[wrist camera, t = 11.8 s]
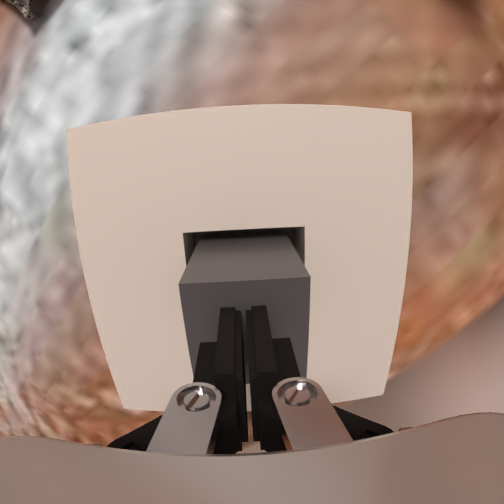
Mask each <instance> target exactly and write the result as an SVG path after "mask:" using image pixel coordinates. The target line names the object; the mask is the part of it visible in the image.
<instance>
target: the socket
mask: <svg viewBox="0 0 504 504" xmlns="http://www.w3.org/2000/svg"><path fill="white" fill-rule="evenodd" d="M67 150H68V165H69V177H70V188H71V197H72V205H73V213H74V220H75V227H76V233H77V239H78V245H79V251H80V256H81V262H82V267H83V272H84V276H85V281H86V285H87V290H88V294H89V298H90V303H91V307H92V311H93V314H94V318H95V322H96V326H97V329H98V333H99V336H100V340H101V343H102V346H103V350H104V353H105V356H106V359H107V362H108V365H109V368H110V371H111V374H112V377H113V380H114V383H115V386H116V389H117V391H118V394H119V397H120V399H121V402H122V405H123V407H124V409H135V410H149V411H165V409H166V407H167V405H168V403H169V401H170V399H171V397H172V395H173V393H174V392H175V391H176V390H177V389H178V388H180V387H181V386H184V385H186V384H190V383H193V378H194V377H193V372H192V366H191V361H190V355H189V349H188V344H187V338H186V332H185V325H184V319H183V312H182V306H181V299H180V292H179V285H178V284H179V281H180V279H181V277H182V275H183V273H184V271H185V268H186V266H187V264H188V262H189V260H190V258H191V256H192V254H193V252H194V249H195V247H196V245H197V243H198V241H199V239H200V237H201V235H214V234H231V233H250V232H270V231H285V233H286V234H287V236H288V238H289V239H290V241H291V243H292V245H293V246H294V248H295V250H296V252H297V253H298V255H299V257H300V259H301V260H302V262H303V264H304V266H305V268H306V269H307V271H308V273H309V275H310V276H311V283H310V317H309V341H308V360H307V377H306V378H308V379H311V380H313V381H315V382H317V383H318V384H319V385H320V386H321V387H322V389H323V391H324V392H325V394H326V396H327V397H328V399H329V401H330V402H331V403H338V402H344V401H350V400H356V399H362V398H367V397H373V396H378V395H383V393H384V389H385V385H386V381H387V377H388V373H389V369H390V364H391V360H392V355H393V350H394V345H395V340H396V335H397V330H398V324H399V318H400V312H401V306H402V300H403V293H404V285H405V278H406V269H407V260H408V250H409V239H410V226H411V209H412V179H413V150H412V120H411V112H404V111H396V110H387V109H378V108H366V107H354V106H337V105H312V104H262V105H236V106H220V107H206V108H195V109H185V110H176V111H168V112H160V113H153V114H146V115H139V116H133V117H127V118H121V119H115V120H110V121H105V122H100V123H95V124H90V125H85V126H81V127H76V128H72V129H68V130H67ZM246 401H247V411H251V396H250V384H246Z"/></svg>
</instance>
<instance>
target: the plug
mask: <svg viewBox="0 0 504 504" xmlns="http://www.w3.org/2000/svg"><path fill="white" fill-rule="evenodd" d="M310 283H311V276H310V275H309V273H308V271H307V269H306V268H305V266H304V264H303V262H302V260H301V259H300V257H299V255H298V253H297V252H296V250H295V248H294V246H293V245H292V243H291V241H290V239H289V238H288V236H287V234H286V233H285V231H270V232H250V233H231V234H214V235H201V237H200V239H199V241H198V243H197V245H196V247H195V249H194V252H193V254H192V256H191V258H190V260H189V262H188V264H187V266H186V268H185V271H184V273H183V275H182V277H181V279H180V281H179V284H178V285H179V292H180V299H181V306H182V312H183V319H184V325H185V332H186V338H187V344H188V349H189V355H190V361H191V366H192V372H193V377H194V372H195V367H196V361H197V356H198V350H199V345H200V342H217V333H218V324H219V314H220V308H224V307H235V311H241V318H242V333H243V347H244V361H245V376H246V384H250V381H249V364H248V345H247V326H246V310H251V306H262V305H266V308H267V314H268V319H269V325H270V330H271V336H272V339H275V338H288V337H289V338H290V340H291V343H292V347H293V351H294V354H295V358H296V361H297V365H298V369H299V372H300V376H301V377H302V378H306V377H307V360H308V341H309V317H310Z"/></svg>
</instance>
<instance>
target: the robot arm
mask: <svg viewBox="0 0 504 504" xmlns="http://www.w3.org/2000/svg"><path fill="white" fill-rule="evenodd" d="M246 326H247V345H248V364H249V381H250V396H251V411H252V425H253V440H254V441H260V446H261V450H265V451H267V452H266V453H250V454H249V453H248V454H235V453H236V452H238V451H242V442H248V424H247V401H246V376H245V361H244V347H243V333H242V318H241V311H235V307H224V308H220V314H219V324H218V333H217V342H200V345H199V350H198V356H197V361H196V367H195V372H194V378H193V383H190V384H186V385H184V386H181V387H180V388H178V389H177V390H176V391H175V392H174V393H173V395H172V397H171V399H170V401H169V403H168V405H167V407H166V409H165V412H164V414H163V415H161V416H159V417H158V418H156V419H154V420H152V421H150V422H149V423H147V424H145V425H143V426H141V427H139V428H137V429H135V430H134V431H132V432H130V433H128V434H126V435H124V436H122V437H120V438H118V439H116V440H114V441H113V442H111V443H110V444H109V445H108V446H107V447H103V446H102V444H84V443H78V442H72V441H66V440H60V439H55V438H47V437H39V436H13V437H5V438H1V439H0V504H504V414H502V413H493V412H487V413H473V414H466V415H460V416H455V417H451V418H446V419H442V420H439V421H436V422H432V423H428V424H424V425H420V426H416V427H408V428H400V429H399V431H397V432H393V431H392V430H391V429H389V428H388V427H386V426H383V425H381V424H378V423H375V422H373V421H370V420H368V419H365V418H362V417H360V416H357V415H355V414H352V413H349V412H348V411H345V410H343V409H340V408H338V407H336V406H333V405H332V404H331V402H330V401H329V399H328V397H327V396H326V394H325V392H324V391H323V389H322V387H321V386H320V385H319V384H318V383H317V382H315V381H313V380H311V379H308V378H302V377H301V376H300V372H299V369H298V365H297V361H296V358H295V354H294V351H293V347H292V343H291V340H290V338H289V337H288V338H275V339H272V336H271V330H270V325H269V319H268V314H267V308H266V305H262V306H251V310H246Z"/></svg>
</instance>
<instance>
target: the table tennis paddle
mask: <svg viewBox="0 0 504 504" xmlns="http://www.w3.org/2000/svg"><path fill="white" fill-rule="evenodd" d="M2 1H5V2H8V3H10V4H11V5H13V6H16V8H18V10H19V11H21V12H22V13H23V15H24V16H25V19H26V16H28V19H30V18H32V19H33V18H34V17H35V15H34V14H33V13H32V12H30V11H29V6H28V5H29V0H2ZM30 4H31V3H30ZM39 18H40V16H39Z"/></svg>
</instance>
